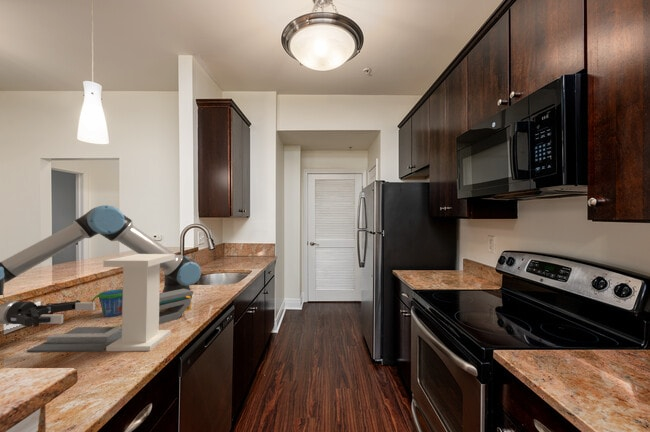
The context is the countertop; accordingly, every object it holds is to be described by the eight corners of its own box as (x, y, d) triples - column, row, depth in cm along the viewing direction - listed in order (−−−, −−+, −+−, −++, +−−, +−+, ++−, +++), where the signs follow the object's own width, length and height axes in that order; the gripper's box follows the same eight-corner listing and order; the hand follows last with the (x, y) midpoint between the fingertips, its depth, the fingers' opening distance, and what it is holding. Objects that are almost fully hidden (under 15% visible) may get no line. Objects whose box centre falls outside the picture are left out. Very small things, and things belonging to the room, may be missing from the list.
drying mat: (26, 352, 93) (26, 350, 93) (77, 328, 113) (77, 327, 113) (103, 351, 94) (103, 349, 94) (140, 328, 114) (140, 326, 114)
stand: (101, 354, 92) (103, 260, 92) (136, 332, 110) (137, 253, 110) (146, 353, 92) (147, 260, 93) (173, 331, 110) (174, 254, 111)
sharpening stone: (131, 332, 109) (131, 304, 109) (122, 328, 114) (122, 300, 114) (192, 314, 130) (193, 290, 130) (183, 311, 134) (183, 288, 134)
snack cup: (87, 320, 122) (88, 296, 122) (95, 313, 131) (96, 290, 131) (131, 315, 128) (131, 293, 128) (135, 309, 138) (136, 287, 138)
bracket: (46, 343, 98) (46, 337, 98) (71, 331, 108) (71, 326, 108) (106, 342, 99) (106, 336, 99) (125, 331, 109) (125, 325, 109)
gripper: (48, 311, 112) (104, 311, 113) (-27, 338, 87) (45, 337, 88) (49, 292, 112) (105, 292, 113) (-27, 313, 87) (46, 313, 88)
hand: (79, 312), depth 100 cm, fingers open, 13 cm apart
